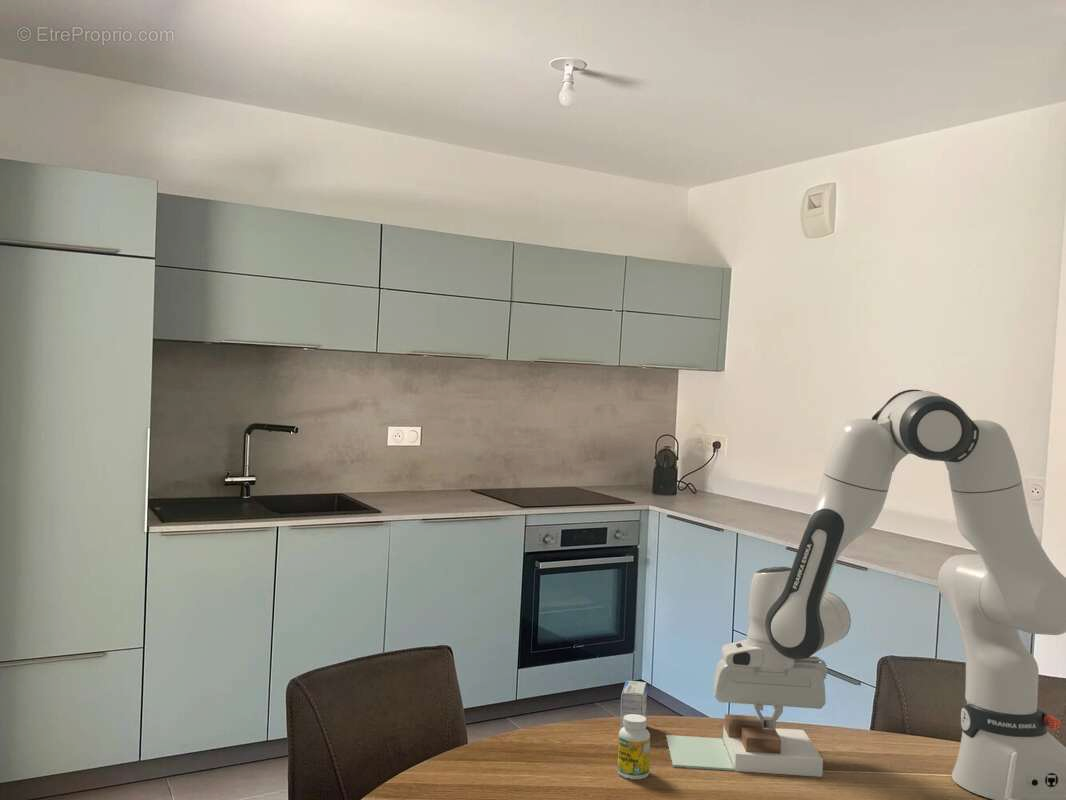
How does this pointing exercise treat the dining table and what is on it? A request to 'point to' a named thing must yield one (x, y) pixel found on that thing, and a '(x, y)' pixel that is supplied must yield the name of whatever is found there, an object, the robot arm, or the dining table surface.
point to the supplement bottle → (634, 747)
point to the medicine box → (633, 699)
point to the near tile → (761, 740)
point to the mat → (699, 753)
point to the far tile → (740, 724)
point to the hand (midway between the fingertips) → (767, 727)
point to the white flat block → (778, 755)
